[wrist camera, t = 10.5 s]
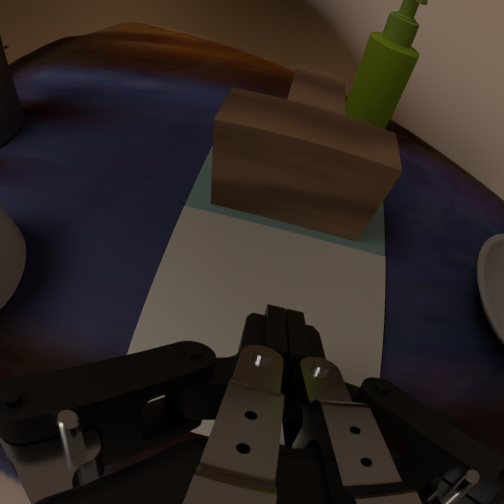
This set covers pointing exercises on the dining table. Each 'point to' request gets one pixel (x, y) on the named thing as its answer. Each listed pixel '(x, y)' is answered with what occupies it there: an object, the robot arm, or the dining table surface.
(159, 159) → the dining table surface
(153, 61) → the dining table surface
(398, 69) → the soap dispenser
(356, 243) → the board
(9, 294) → the toilet tissue
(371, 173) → the t block
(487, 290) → the dish
